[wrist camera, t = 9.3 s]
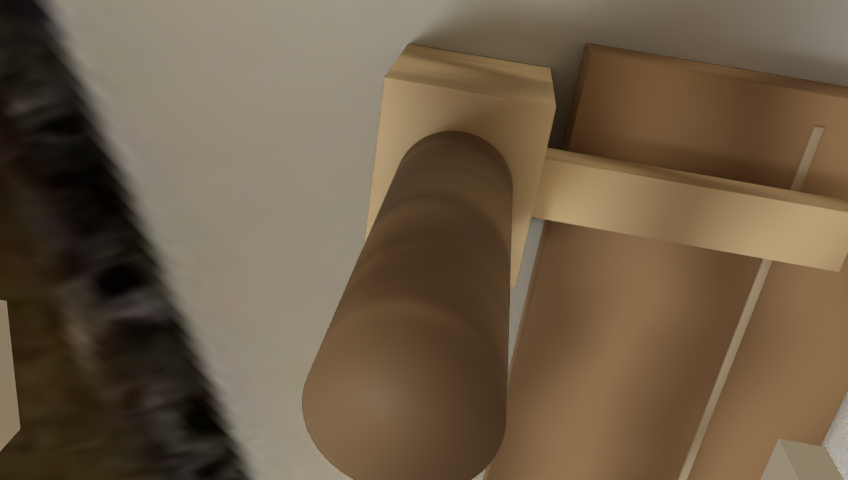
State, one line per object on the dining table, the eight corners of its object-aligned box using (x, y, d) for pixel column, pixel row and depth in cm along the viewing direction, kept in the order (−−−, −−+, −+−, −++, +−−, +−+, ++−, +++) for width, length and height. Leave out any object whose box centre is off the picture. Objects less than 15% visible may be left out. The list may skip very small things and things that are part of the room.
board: (460, 576, 37) (457, 613, 35) (586, 43, 26) (591, 55, 24) (706, 625, 37) (716, 665, 35) (944, 103, 25) (978, 121, 23)
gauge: (387, 201, 29) (255, 513, 15) (408, 43, 26) (272, 238, 12) (780, 271, 28) (1044, 670, 14) (841, 117, 26) (1242, 415, 11)
